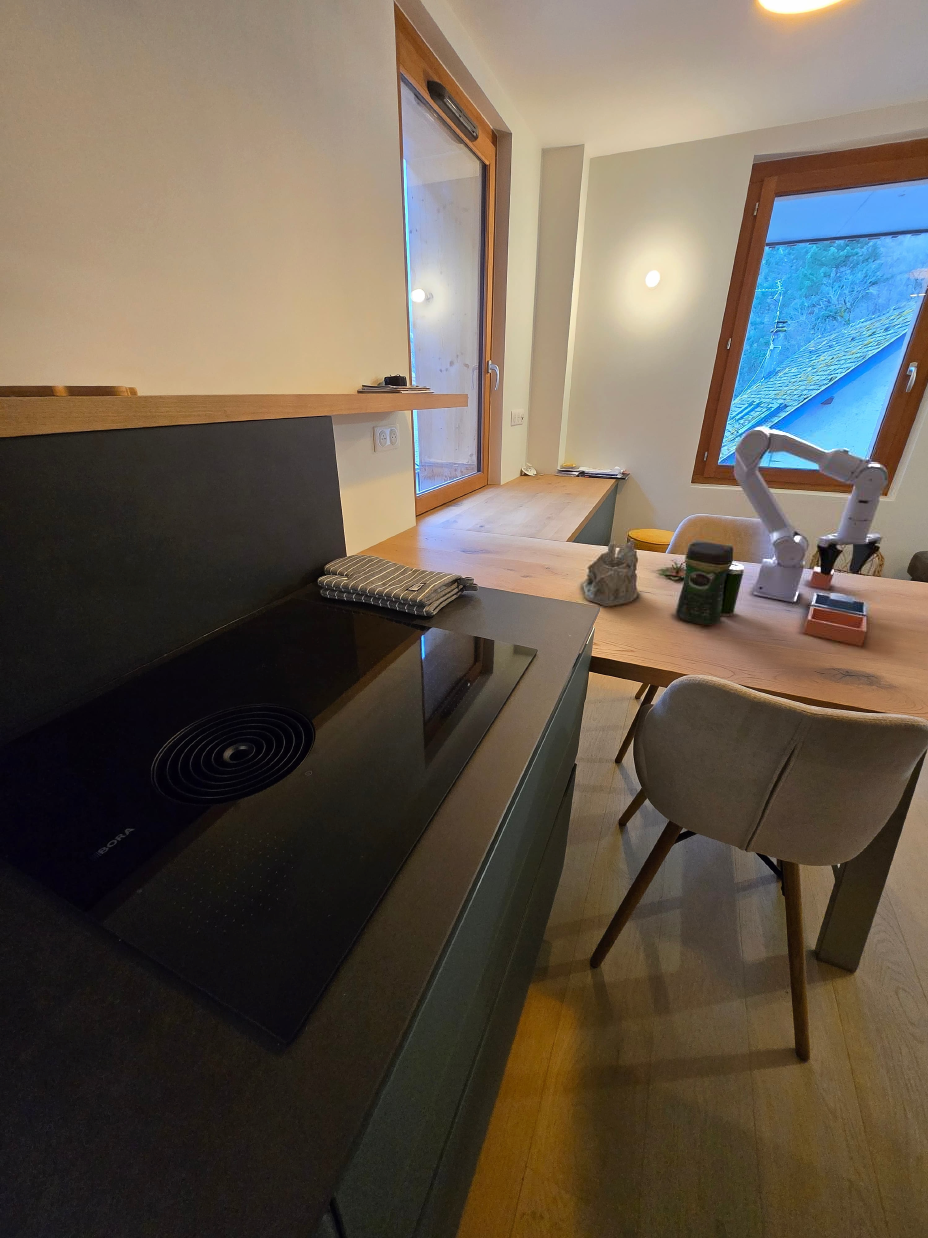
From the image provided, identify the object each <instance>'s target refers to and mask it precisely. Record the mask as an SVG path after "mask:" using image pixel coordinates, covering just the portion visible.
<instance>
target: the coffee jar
mask: <svg viewBox="0 0 928 1238" xmlns="http://www.w3.org/2000/svg"><path fill="white" fill-rule="evenodd" d="M733 560H734V547H733V545H727V544H721V543H715V542H709V541H702V540H695V541H693V542H691V543H690V544H689V546H688V547H687V551H686V555H685V556H684V561H685V563H684V566H686V567H685V569H686V572H685V578H684V577H683V583H682V587H681V590H680V594H679V597H678V600H677V603H676V604H677V605H676V607H675V616H676V618H678V619H680V620H682V621H686V622H690V623H694V624H697V625H701V626H711V625H715V624H717V623H718V622H719V621H720V620H721V617H722V616H721V610H722V600H723V590H724V582H725V578H726V574H727V571H728V570H729V568H730V567H731V565H732V563H734V562H733Z"/></svg>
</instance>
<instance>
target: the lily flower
mask: <svg viewBox="0 0 928 1238" xmlns="http://www.w3.org/2000/svg"><path fill="white" fill-rule="evenodd" d="M674 560H675V561H674ZM674 560H673V559H671V560H670V561H671V562H673V563H674V564H671V566H667V567H664V568H660V569H656V571H657V572H660V574H659V577H661V576H667V575H668V577H669V578H670V579H671V580H672V581H674V580H678V579H682V578H683V579H684V578H685V572H686V565H685V560H684V561H683V562H681V563H680V561H679V562H678V561H677V559H676V558H674Z"/></svg>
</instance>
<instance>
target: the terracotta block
mask: <svg viewBox="0 0 928 1238" xmlns="http://www.w3.org/2000/svg"><path fill="white" fill-rule="evenodd" d="M834 574H835V568H833V569H832V571H831V573H830V575H824V574H822V573H821V566H814V568H813V571H812V574H811V577H810V581H809V583H808V587H810V588H816V589H821V590H827V591H829V590H830V587H831V583H832V582H833V581H832V580H833V578H834Z"/></svg>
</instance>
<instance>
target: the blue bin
mask: <svg viewBox="0 0 928 1238" xmlns="http://www.w3.org/2000/svg"><path fill="white" fill-rule="evenodd" d="M829 596H830V594H826V593H825V594H824V593H819V592H814V593H813V597H812V600H811V603H810V606H809V610H808V612H809V611H810V608H811V606H812V607H818V608H823V609H828V610H833V611H838V612H843V613H848V614H853V615H859V616H863V617H867V615H868V602H867V601H864V600H863V601H862V600H857V599H853V605H852V608H851V611H849V610H844V609H838V608H833V607H828V606H826V605H827V602H828V599H829ZM808 615H809V613H808V614H807V616H808Z"/></svg>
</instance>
